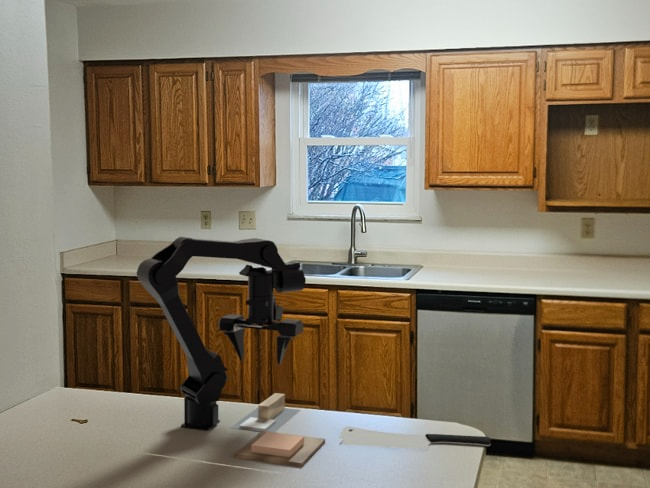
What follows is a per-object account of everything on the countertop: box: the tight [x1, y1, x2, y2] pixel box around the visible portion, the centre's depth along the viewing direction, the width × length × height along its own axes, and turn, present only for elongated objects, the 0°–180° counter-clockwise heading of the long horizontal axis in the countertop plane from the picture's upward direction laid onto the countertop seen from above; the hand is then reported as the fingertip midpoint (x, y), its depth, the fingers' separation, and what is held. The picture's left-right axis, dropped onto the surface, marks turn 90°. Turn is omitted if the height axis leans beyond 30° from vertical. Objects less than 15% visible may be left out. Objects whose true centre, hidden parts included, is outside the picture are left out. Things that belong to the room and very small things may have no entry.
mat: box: [229, 407, 301, 433], centre depth 175 cm, size 10×17×1 cm, turn 162°
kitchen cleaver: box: [339, 426, 492, 450], centre depth 161 cm, size 31×2×10 cm
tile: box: [251, 432, 305, 458], centre depth 154 cm, size 8×2×8 cm
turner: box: [239, 392, 286, 431], centre depth 175 cm, size 6×16×4 cm, turn 162°
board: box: [233, 431, 326, 468], centre depth 156 cm, size 14×14×1 cm
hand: (260, 362), depth 178 cm, fingers open, 9 cm apart
